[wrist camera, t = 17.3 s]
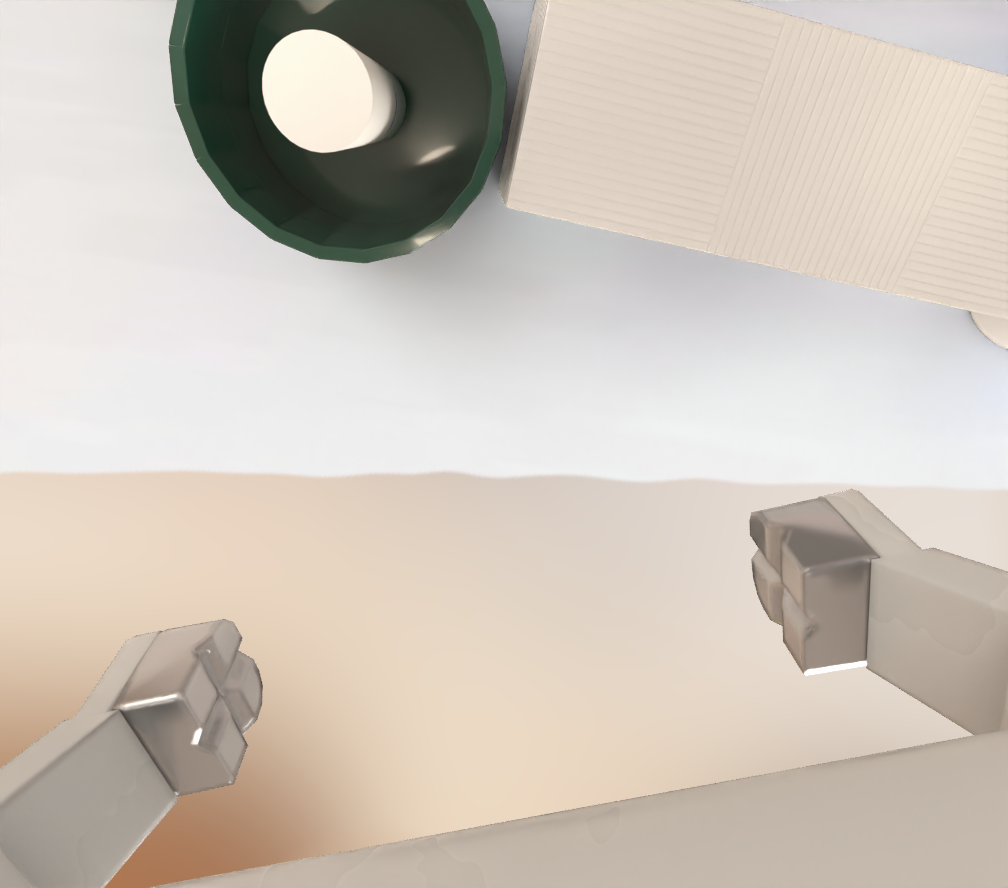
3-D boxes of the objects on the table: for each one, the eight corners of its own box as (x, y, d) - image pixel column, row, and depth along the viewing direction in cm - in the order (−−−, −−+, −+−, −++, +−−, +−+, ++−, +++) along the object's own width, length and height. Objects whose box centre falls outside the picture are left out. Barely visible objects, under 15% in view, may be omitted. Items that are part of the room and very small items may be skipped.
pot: (464, -87, 36) (462, -156, 27) (519, 204, 43) (532, 225, 34) (196, -19, 37) (108, -64, 28) (292, 256, 44) (246, 290, 35)
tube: (318, 89, 39) (238, 70, 25) (378, 46, 38) (328, 4, 25) (361, 157, 41) (308, 173, 27) (419, 117, 40) (394, 114, 26)
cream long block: (1021, 124, 42) (1185, 125, 32) (939, 288, 47) (1062, 331, 37) (536, -6, 38) (559, -50, 28) (498, 188, 42) (506, 207, 33)
